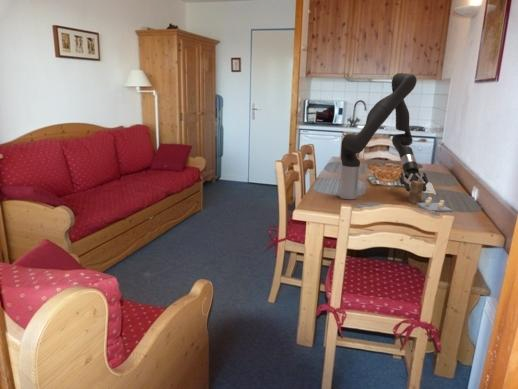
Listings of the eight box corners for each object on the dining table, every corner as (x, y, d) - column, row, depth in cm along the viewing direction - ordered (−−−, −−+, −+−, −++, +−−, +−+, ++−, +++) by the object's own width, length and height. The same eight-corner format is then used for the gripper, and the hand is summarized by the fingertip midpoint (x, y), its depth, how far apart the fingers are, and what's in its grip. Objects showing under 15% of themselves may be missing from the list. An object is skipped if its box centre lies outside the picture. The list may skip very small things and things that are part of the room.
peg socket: (428, 211, 193) (429, 203, 192) (416, 204, 205) (417, 197, 204) (452, 211, 194) (453, 204, 193) (438, 204, 206) (439, 197, 205)
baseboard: (433, 184, 254) (413, 182, 257) (434, 180, 253) (414, 178, 257) (438, 196, 225) (416, 194, 229) (439, 191, 225) (416, 189, 228)
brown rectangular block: (414, 204, 205) (417, 183, 203) (408, 200, 211) (411, 180, 208) (420, 204, 206) (423, 183, 203) (414, 201, 212) (417, 180, 209)
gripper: (399, 160, 210) (406, 187, 202) (425, 160, 212) (433, 187, 204) (393, 168, 217) (400, 194, 209) (418, 168, 219) (426, 194, 210)
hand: (416, 190), depth 206 cm, fingers open, 8 cm apart
